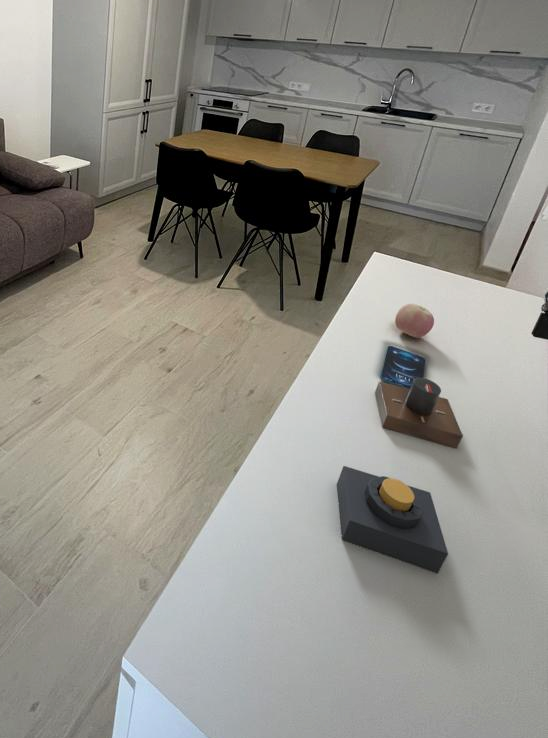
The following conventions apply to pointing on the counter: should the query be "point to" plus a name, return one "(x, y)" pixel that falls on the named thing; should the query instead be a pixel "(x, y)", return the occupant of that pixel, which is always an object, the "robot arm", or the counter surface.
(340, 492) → the button base
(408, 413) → the dial panel
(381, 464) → the counter surface
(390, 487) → the yellow button cap
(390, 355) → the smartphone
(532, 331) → the robot arm
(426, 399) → the dial
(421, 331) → the apple
